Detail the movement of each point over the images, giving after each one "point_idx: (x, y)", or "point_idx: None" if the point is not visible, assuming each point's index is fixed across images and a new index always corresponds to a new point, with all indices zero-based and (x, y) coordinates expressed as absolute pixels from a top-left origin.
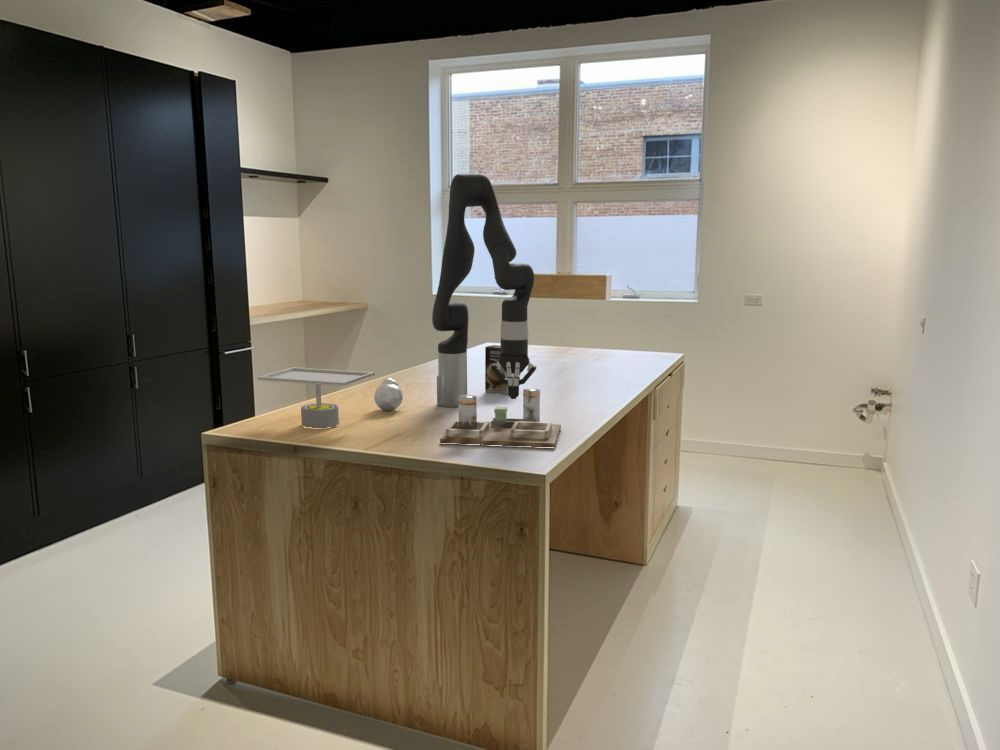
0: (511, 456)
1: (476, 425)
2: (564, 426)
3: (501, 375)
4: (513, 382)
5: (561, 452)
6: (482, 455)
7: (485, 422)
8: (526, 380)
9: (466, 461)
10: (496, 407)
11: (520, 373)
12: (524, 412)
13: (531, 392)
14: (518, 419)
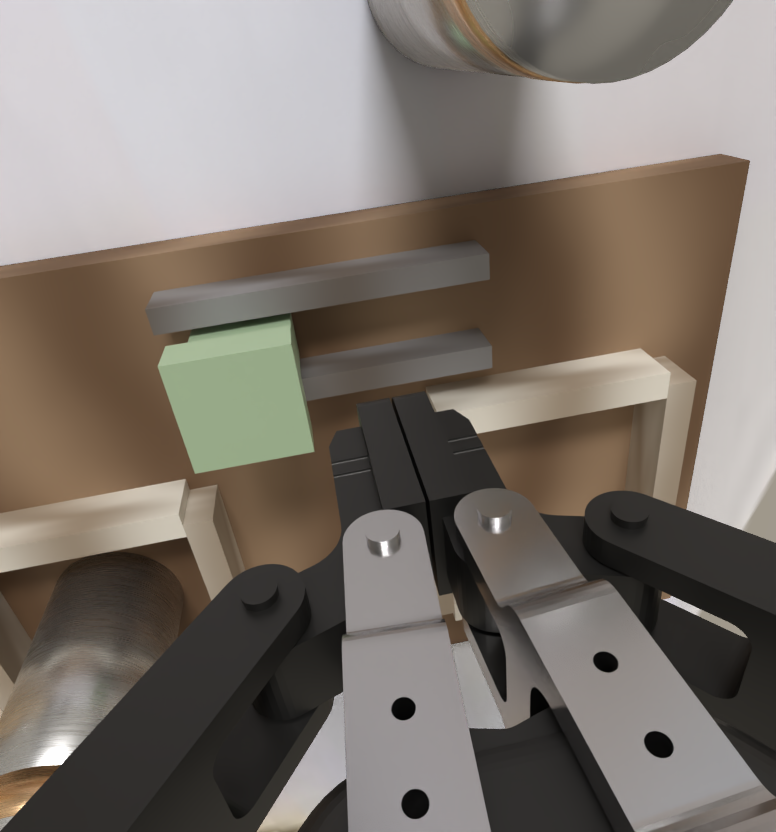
0: (469, 710)
1: (173, 629)
2: (765, 9)
3: (251, 824)
4: (421, 527)
5: (682, 601)
6: (342, 740)
7: (187, 532)
8: (693, 639)
9: (309, 804)
10: (186, 410)
11: (630, 612)
12: (413, 40)
13: (617, 75)
14: (399, 292)
